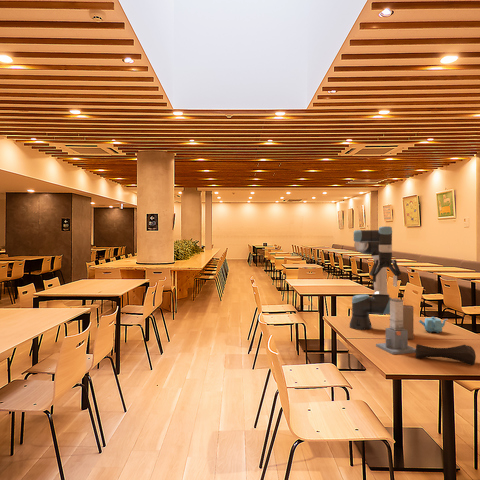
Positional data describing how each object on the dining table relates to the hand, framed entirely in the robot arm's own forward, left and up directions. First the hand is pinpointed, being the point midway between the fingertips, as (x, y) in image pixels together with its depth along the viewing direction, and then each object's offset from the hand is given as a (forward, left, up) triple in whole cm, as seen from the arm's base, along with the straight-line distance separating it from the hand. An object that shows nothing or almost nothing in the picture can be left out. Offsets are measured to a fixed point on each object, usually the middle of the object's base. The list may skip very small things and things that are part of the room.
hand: (385, 286), depth 225 cm
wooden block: (-10, +21, -35) cm, 42 cm away
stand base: (+12, -1, -35) cm, 36 cm away
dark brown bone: (+35, +11, -35) cm, 51 cm away
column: (+12, -1, -33) cm, 35 cm away
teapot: (-18, +49, -35) cm, 63 cm away
